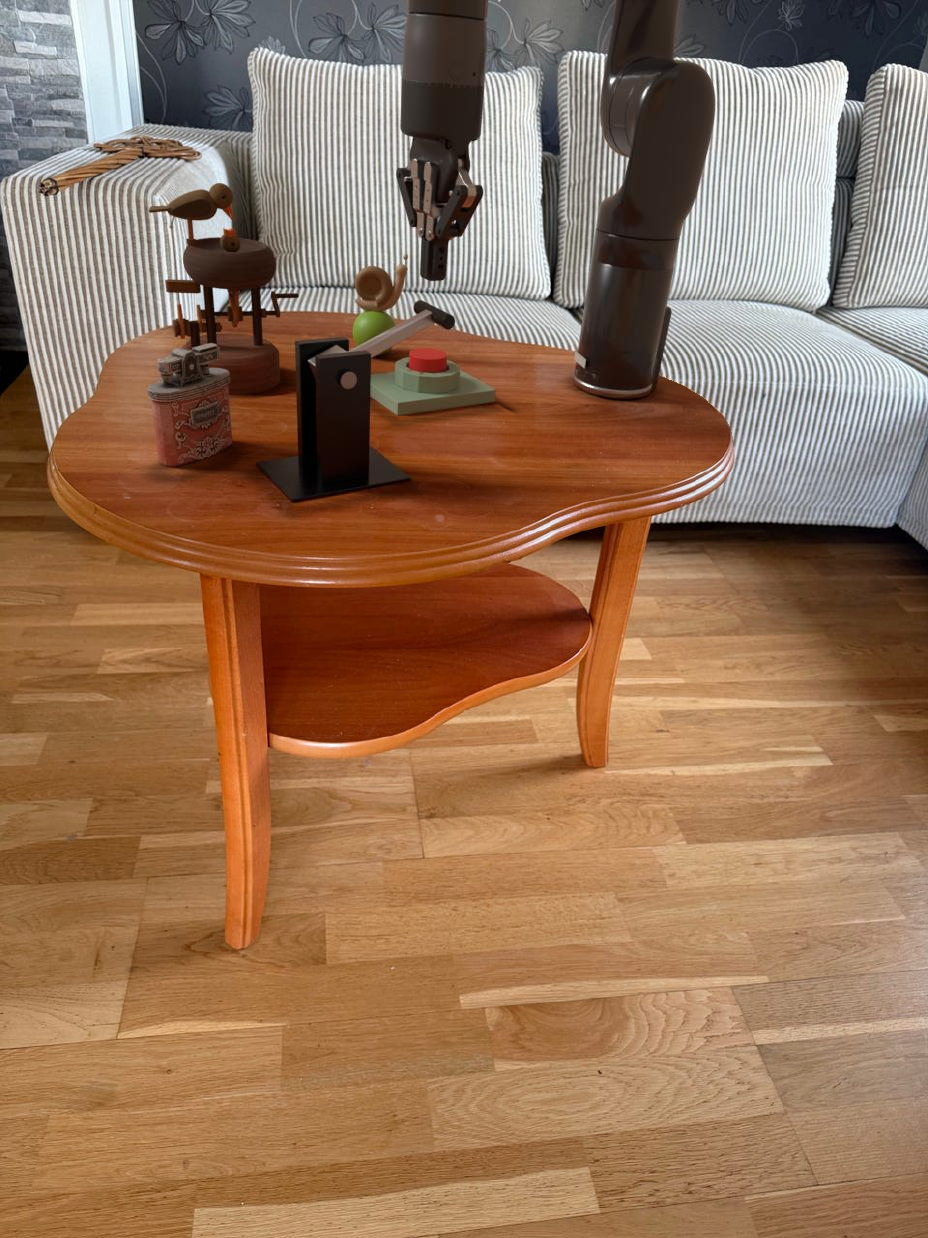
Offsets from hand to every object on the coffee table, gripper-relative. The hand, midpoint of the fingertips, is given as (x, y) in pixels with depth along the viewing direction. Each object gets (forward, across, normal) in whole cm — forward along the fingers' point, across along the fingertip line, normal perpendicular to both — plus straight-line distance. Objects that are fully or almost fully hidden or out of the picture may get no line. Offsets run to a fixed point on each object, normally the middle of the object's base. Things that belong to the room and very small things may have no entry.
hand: (432, 278), depth 88 cm
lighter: (+13, -7, +27) cm, 31 cm away
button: (+9, 0, 0) cm, 9 cm away
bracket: (+13, -15, +18) cm, 27 cm away
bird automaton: (+13, +14, +16) cm, 25 cm away
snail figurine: (+13, +17, -3) cm, 22 cm away
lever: (+2, -15, +13) cm, 20 cm away
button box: (+13, 0, 0) cm, 13 cm away
